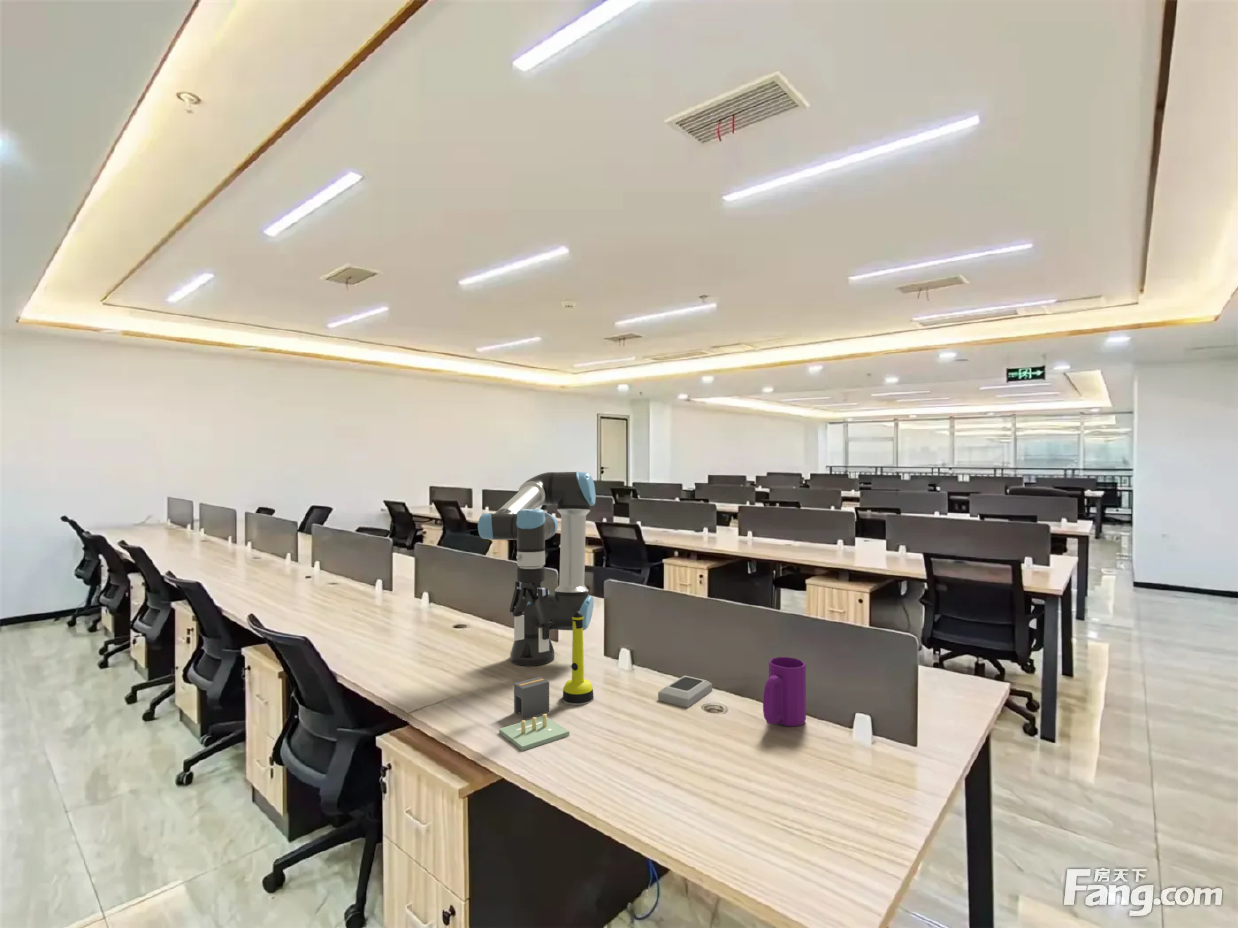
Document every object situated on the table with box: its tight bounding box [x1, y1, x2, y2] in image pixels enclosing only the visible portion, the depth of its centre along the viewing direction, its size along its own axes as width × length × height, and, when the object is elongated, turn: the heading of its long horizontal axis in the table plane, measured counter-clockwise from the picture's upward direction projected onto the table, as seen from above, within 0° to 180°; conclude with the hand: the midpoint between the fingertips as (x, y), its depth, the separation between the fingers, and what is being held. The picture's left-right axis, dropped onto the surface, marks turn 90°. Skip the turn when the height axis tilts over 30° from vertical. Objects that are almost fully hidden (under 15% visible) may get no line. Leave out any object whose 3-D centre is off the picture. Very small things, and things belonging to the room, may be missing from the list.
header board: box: [499, 713, 570, 752], centre depth 147 cm, size 13×12×4 cm
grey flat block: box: [657, 675, 713, 708], centre depth 171 cm, size 10×4×15 cm
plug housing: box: [513, 676, 550, 720], centre depth 160 cm, size 8×5×8 cm, turn 128°
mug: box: [762, 656, 807, 727], centre depth 152 cm, size 9×16×15 cm, turn 136°
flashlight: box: [561, 611, 595, 706], centre depth 169 cm, size 25×9×9 cm
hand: (531, 645), depth 160 cm, fingers open, 13 cm apart
